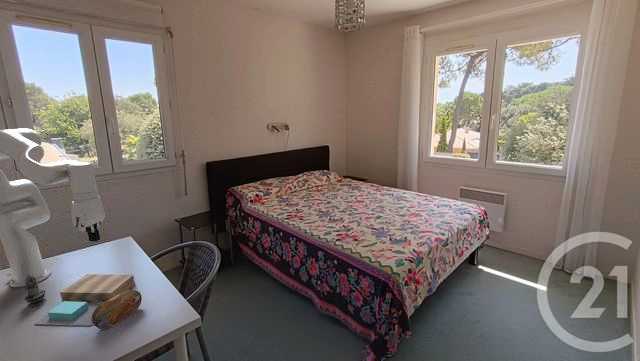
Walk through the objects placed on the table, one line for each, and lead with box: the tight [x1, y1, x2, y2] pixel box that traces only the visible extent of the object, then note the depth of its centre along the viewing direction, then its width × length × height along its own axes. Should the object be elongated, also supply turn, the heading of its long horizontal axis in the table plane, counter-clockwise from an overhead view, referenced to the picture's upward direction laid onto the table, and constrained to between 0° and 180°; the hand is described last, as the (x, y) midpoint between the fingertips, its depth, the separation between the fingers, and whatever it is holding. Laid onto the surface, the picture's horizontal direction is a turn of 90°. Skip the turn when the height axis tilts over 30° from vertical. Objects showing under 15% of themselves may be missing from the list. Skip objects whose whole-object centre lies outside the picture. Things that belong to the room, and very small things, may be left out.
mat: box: [34, 302, 103, 327], centre depth 101 cm, size 20×11×1 cm, turn 86°
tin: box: [92, 289, 143, 330], centre depth 98 cm, size 15×3×8 cm, turn 154°
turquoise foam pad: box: [47, 301, 88, 320], centre depth 101 cm, size 9×6×2 cm, turn 85°
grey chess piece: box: [23, 275, 48, 309], centre depth 106 cm, size 6×6×12 cm
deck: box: [59, 273, 136, 303], centre depth 113 cm, size 20×12×4 cm, turn 86°
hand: (94, 240), depth 112 cm, fingers closed
